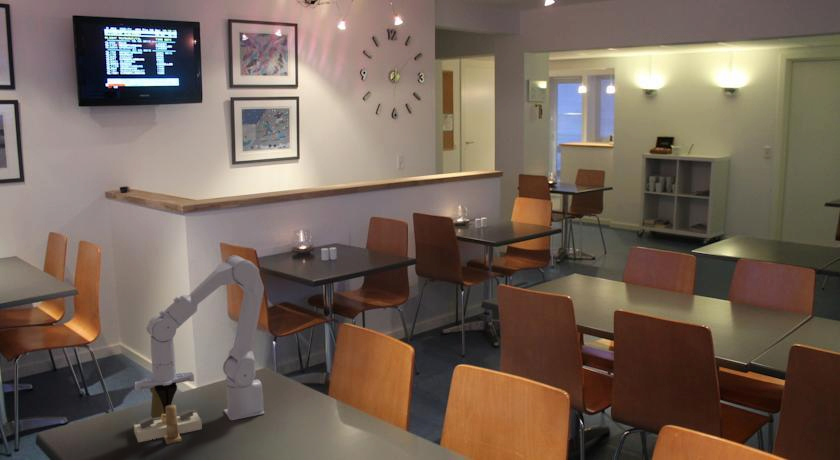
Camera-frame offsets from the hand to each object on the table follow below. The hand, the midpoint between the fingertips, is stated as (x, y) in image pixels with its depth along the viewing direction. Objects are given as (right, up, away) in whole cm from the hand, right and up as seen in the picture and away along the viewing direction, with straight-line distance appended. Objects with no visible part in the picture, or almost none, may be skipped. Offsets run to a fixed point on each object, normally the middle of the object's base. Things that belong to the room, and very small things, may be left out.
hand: (166, 411), depth 194 cm
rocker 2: (0, -3, 0) cm, 3 cm away
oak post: (+3, -6, -5) cm, 8 cm away
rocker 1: (-4, -3, -2) cm, 6 cm away
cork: (-4, -4, +9) cm, 11 cm away
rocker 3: (+4, -2, +3) cm, 6 cm away
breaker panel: (0, -5, +1) cm, 5 cm away
